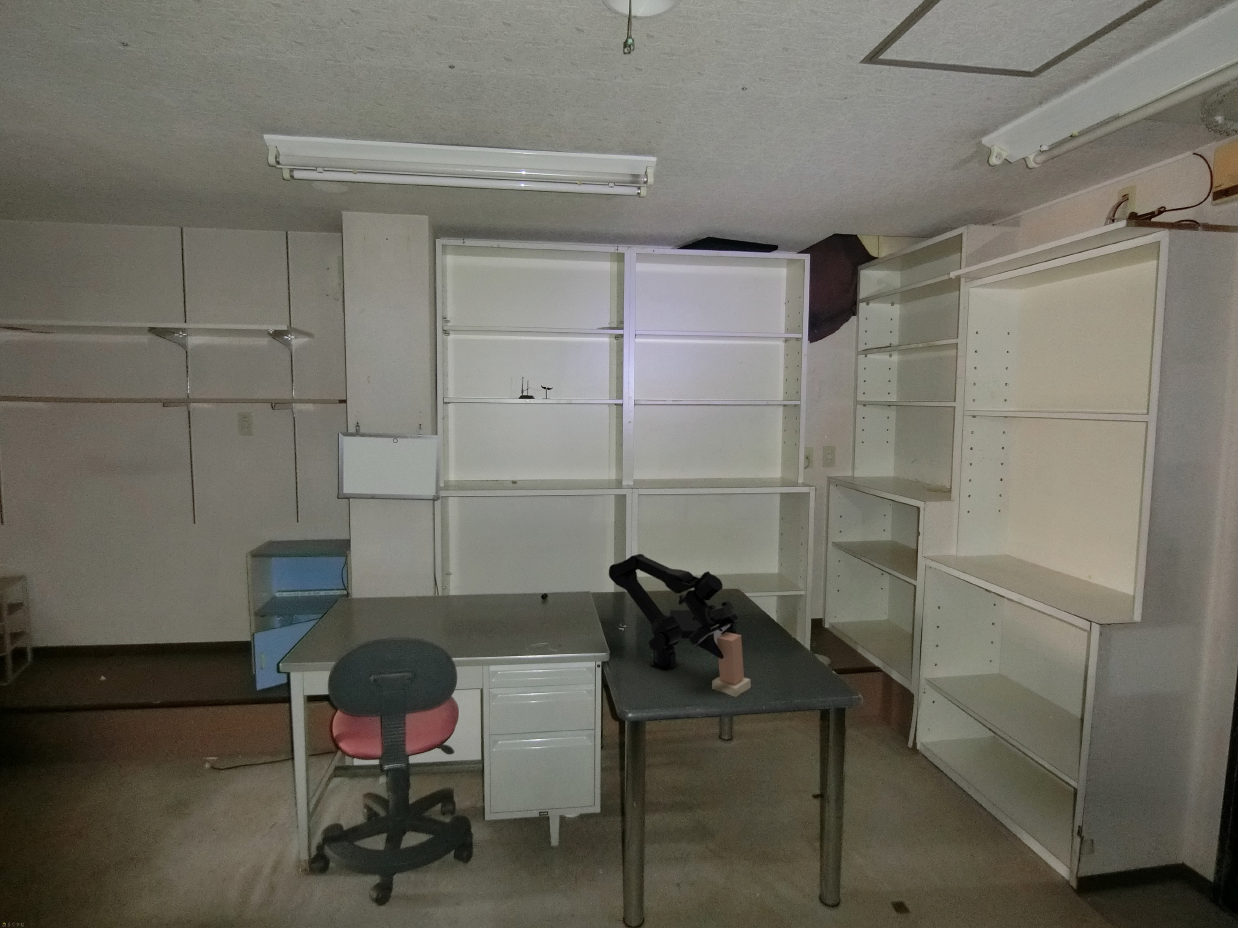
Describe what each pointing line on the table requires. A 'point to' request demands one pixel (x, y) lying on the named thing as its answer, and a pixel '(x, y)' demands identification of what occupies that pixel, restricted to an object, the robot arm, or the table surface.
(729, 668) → the column
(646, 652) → the table surface
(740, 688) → the slab
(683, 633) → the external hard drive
